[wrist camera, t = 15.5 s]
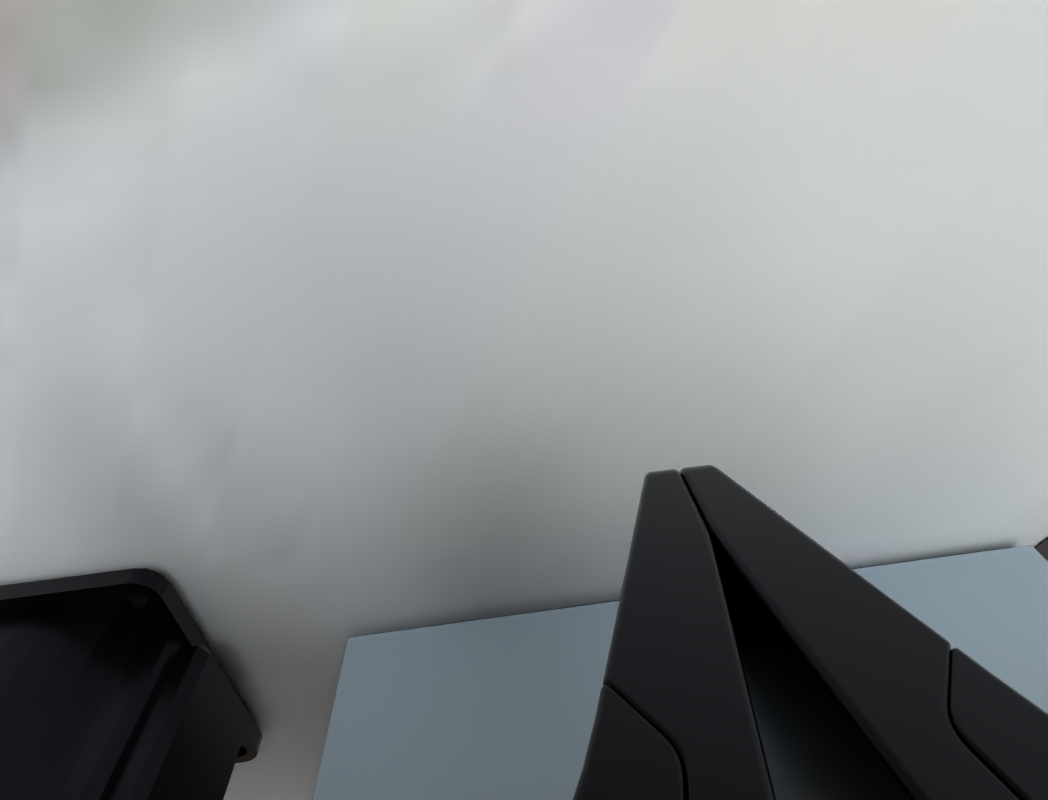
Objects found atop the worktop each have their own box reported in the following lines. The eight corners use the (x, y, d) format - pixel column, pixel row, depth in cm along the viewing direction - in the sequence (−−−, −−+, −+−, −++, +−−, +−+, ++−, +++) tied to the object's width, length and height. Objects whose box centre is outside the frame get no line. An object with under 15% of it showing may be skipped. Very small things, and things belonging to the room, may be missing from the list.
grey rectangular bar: (366, 678, 16) (326, 902, 12) (348, 637, 15) (298, 863, 11) (1013, 592, 15) (1194, 800, 11) (1031, 545, 14) (1231, 750, 10)
